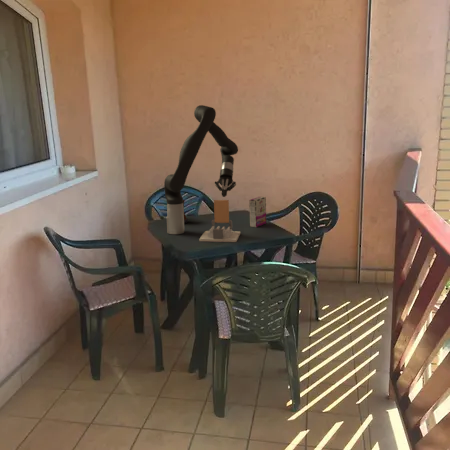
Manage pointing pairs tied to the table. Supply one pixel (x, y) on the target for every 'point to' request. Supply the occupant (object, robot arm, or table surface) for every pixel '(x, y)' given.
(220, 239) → the heatsink board
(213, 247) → the table surface
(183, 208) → the mug
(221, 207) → the brown flat panel
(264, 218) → the candy bar box
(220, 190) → the robot arm
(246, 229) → the table surface
